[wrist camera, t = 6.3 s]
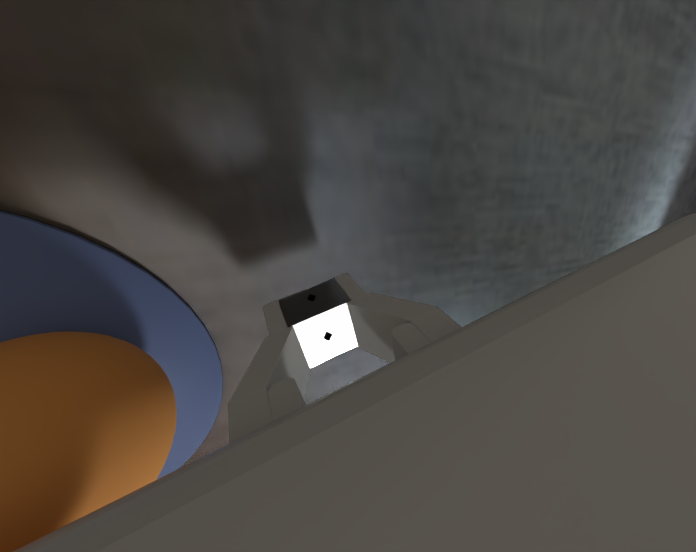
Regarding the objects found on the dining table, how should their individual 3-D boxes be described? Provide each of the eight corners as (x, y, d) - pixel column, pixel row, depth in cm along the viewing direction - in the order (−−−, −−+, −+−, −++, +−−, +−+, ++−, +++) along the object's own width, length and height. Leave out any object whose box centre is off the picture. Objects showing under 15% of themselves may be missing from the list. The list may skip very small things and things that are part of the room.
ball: (-403, 678, 2) (-351, 479, 5) (62, 702, 5) (-42, 573, 7) (151, 294, 7) (40, 286, 9) (243, 423, 9) (142, 393, 12)
